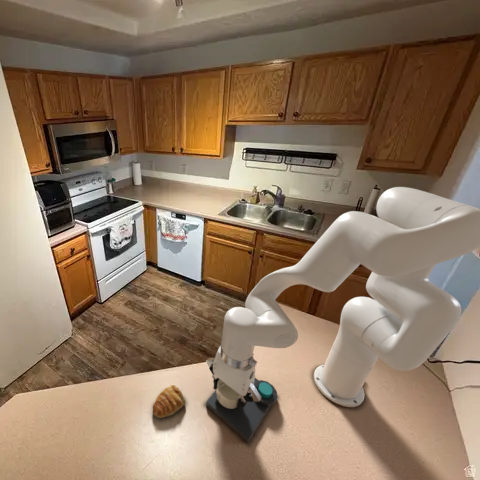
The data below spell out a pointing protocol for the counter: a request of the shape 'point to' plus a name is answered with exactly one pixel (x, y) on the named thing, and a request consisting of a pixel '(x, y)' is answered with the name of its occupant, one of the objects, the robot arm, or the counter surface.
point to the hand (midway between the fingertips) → (228, 394)
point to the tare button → (265, 390)
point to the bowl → (226, 395)
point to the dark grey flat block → (244, 412)
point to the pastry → (168, 402)
